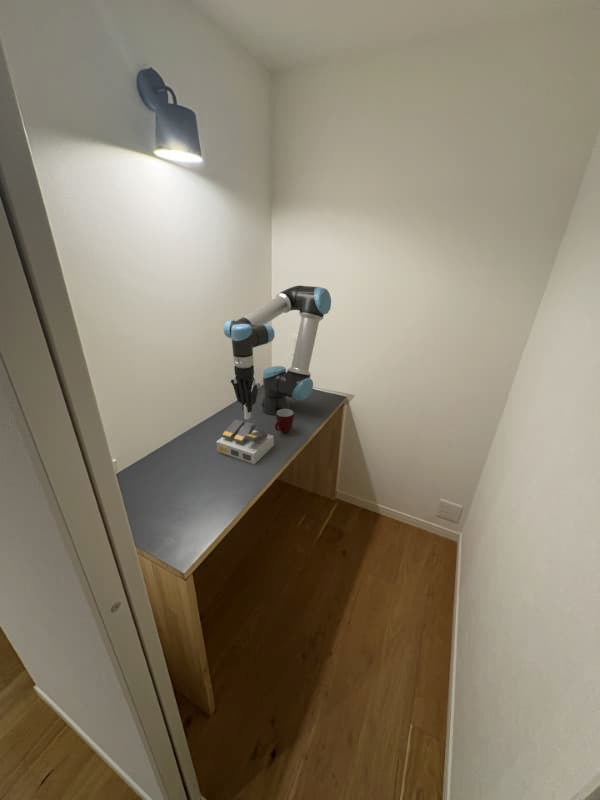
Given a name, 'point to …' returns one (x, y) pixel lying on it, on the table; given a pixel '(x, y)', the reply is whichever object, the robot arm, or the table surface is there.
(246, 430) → the rocker
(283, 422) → the mug
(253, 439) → the rocker
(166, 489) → the table surface
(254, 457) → the switch unit
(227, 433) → the rocker
